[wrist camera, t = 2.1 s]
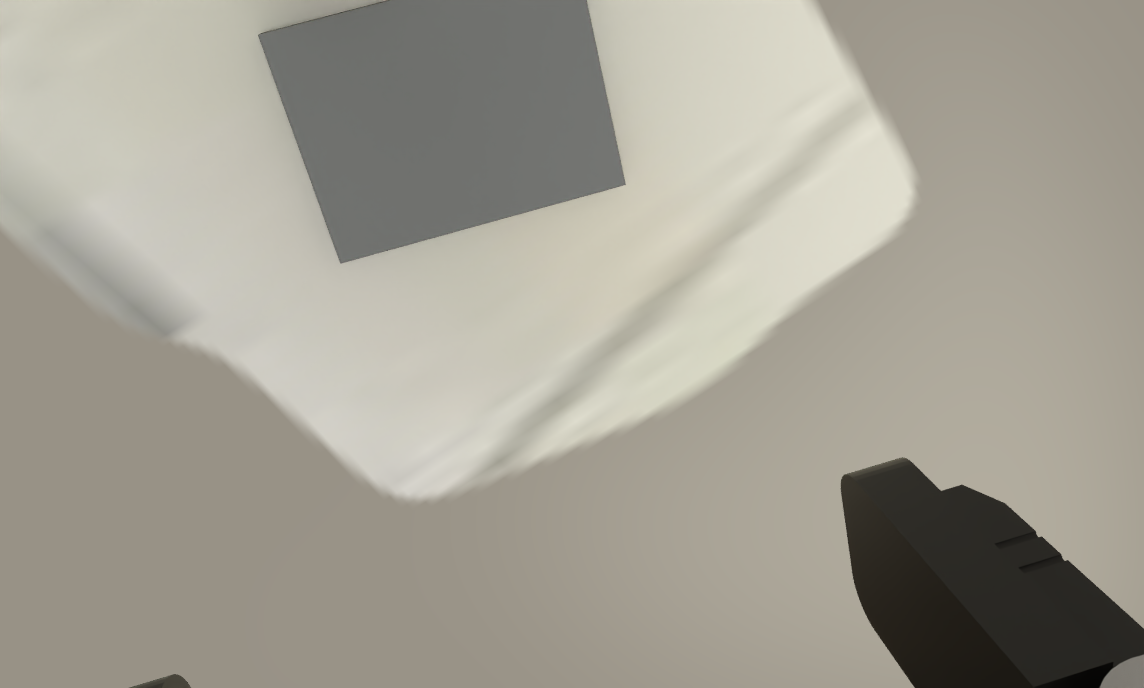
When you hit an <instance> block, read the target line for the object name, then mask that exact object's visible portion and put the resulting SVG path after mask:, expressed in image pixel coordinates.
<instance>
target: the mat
mask: <svg viewBox="0 0 1144 688" xmlns="http://www.w3.org/2000/svg"><path fill="white" fill-rule="evenodd" d="M258 36H259V39H260V42H261V44H262V47H263V50H264V53H265V56H266V58H267V61H268V64H269V67H270V69H271V72H272V75H273V78H274V81H275V83H276V86H277V89H278V92H279V94H280V97H281V100H282V103H283V105H284V108H285V111H286V114H287V117H288V119H289V122H290V125H291V128H292V130H293V133H294V136H295V139H296V141H297V144H298V147H299V150H300V153H301V155H302V158H303V161H304V164H305V166H306V169H307V172H308V175H309V177H310V180H311V183H312V186H313V189H314V191H315V194H316V197H317V200H318V202H319V205H320V208H321V211H322V213H323V216H324V219H325V222H326V225H327V227H328V230H329V233H330V236H331V238H332V241H333V244H334V247H335V249H336V252H337V255H338V258H339V261H340V263H344V262H348V261H352V260H355V259H359V258H362V257H366V256H370V255H373V254H377V253H380V252H384V251H388V250H391V249H395V248H399V247H402V246H406V245H409V244H413V243H417V242H420V241H424V240H427V239H431V238H435V237H438V236H442V235H446V234H449V233H453V232H456V231H460V230H464V229H467V228H471V227H475V226H478V225H482V224H485V223H489V222H493V221H496V220H500V219H503V218H507V217H511V216H514V215H518V214H522V213H525V212H529V211H532V210H536V209H540V208H543V207H547V206H550V205H554V204H558V203H561V202H565V201H569V200H572V199H576V198H579V197H583V196H587V195H590V194H594V193H598V192H601V191H605V190H608V189H612V188H616V187H619V186H623V185H626V184H625V179H624V175H623V170H622V165H621V161H620V156H619V151H618V146H617V142H616V137H615V132H614V128H613V123H612V118H611V113H610V109H609V104H608V99H607V95H606V90H605V85H604V81H603V76H602V71H601V66H600V62H599V57H598V52H597V48H596V43H595V38H594V33H593V29H592V24H591V19H590V15H589V10H588V5H587V1H586V0H388V1H384V2H380V3H376V4H372V5H368V6H364V7H361V8H357V9H353V10H349V11H345V12H341V13H338V14H334V15H330V16H326V17H322V18H318V19H314V20H311V21H307V22H303V23H299V24H295V25H291V26H287V27H284V28H280V29H276V30H272V31H268V32H264V33H261V34H259V35H258Z"/></svg>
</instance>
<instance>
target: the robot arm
mask: <svg viewBox="0 0 1144 688" xmlns="http://www.w3.org/2000/svg"><path fill="white" fill-rule="evenodd" d="M841 494H842V502H843V508H844V516H845V523H846V530H847V537H848V544H849V551H850V558H851V566H852V573H853V579H854V583H855V587H856V590H857V594H858V597H859V600H860V602H861V604H862V607H863V609H864V612H865V614H866V616H867V618H868V620H869V621H870V623H871V625H872V627H873V628H874V630H875V631H876V633H877V634H878V635H879V637H880V639H881V640H882V641H883V643H884V644H885V646H886V647H887V649H888V650H889V651H890V653H891V654H892V656H893V657H894V659H895V660H896V662H897V663H898V664H899V666H900V667H901V669H902V670H903V671H904V673H905V674H906V676H907V677H908V679H909V680H910V682H911V683H912V684H913V686H914V687H915V688H1144V629H1143V628H1142V627H1141V626H1140V625H1139V624H1138V623H1137V622H1136V621H1134V620H1133V619H1132V618H1131V617H1130V616H1129V615H1128V614H1127V613H1126V612H1125V611H1123V610H1122V609H1121V608H1120V607H1119V606H1118V605H1117V604H1116V603H1115V602H1113V601H1112V600H1111V599H1110V598H1109V597H1108V596H1107V595H1106V594H1105V593H1104V592H1103V591H1101V590H1100V589H1099V588H1098V587H1097V586H1096V585H1095V584H1094V583H1093V582H1091V581H1090V580H1089V579H1088V578H1087V577H1086V576H1085V575H1084V574H1083V573H1081V572H1080V571H1079V570H1078V569H1077V568H1076V567H1075V566H1074V565H1072V564H1071V563H1070V562H1069V561H1068V560H1067V561H1064V560H1063V558H1062V556H1061V554H1060V553H1059V552H1058V551H1057V550H1056V549H1055V548H1054V547H1053V546H1052V545H1050V544H1049V543H1048V542H1047V541H1046V540H1045V539H1044V538H1043V537H1038V536H1037V535H1036V531H1035V530H1034V529H1033V528H1032V527H1030V526H1029V525H1028V524H1027V523H1026V522H1025V521H1024V520H1023V519H1021V518H1020V517H1019V516H1018V515H1017V514H1016V513H1015V512H1014V511H1013V510H1012V509H1011V508H1009V507H1008V506H1007V505H1006V504H1005V503H1003V502H1001V501H998V500H996V499H994V498H991V497H989V496H987V495H984V494H982V493H980V492H977V491H975V490H973V489H971V488H968V487H966V486H964V485H960V486H956V487H953V488H950V489H946V490H943V491H940V490H939V489H938V488H937V487H936V486H935V485H934V484H933V483H932V482H931V481H930V480H929V479H928V478H927V477H926V476H925V475H924V474H923V473H922V472H921V471H920V470H919V469H918V468H917V467H916V466H915V465H914V464H913V463H912V462H911V461H910V460H908V459H906V458H899V459H895V460H892V461H889V462H885V463H882V464H879V465H875V466H872V467H869V468H866V469H862V470H859V471H855V472H852V473H849V474H845V475H844V476H843V477H842V479H841ZM130 688H191V687H190V685H189V684H188V682H187V681H186V680H185V679H184V678H183V677H181V676H179V675H176V674H174V675H170V676H167V677H163V678H160V679H157V680H153V681H150V682H147V683H143V684H140V685H137V686H134V687H130Z"/></svg>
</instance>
